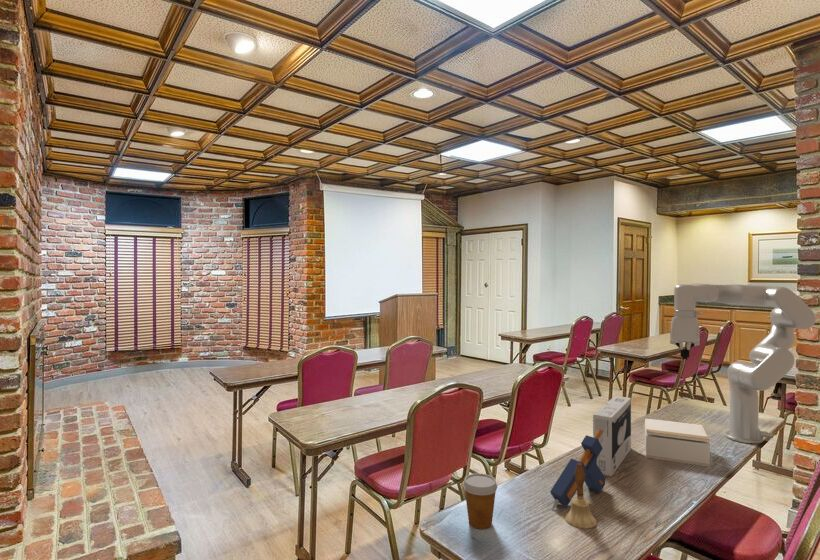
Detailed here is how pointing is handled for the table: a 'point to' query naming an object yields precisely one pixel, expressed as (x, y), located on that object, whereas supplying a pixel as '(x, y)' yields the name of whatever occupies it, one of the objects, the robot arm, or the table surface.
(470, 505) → the disposable coffee cup
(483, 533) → the table surface
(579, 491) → the hand bell
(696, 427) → the lid
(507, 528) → the table surface
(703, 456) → the box
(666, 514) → the table surface
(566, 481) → the glue gun
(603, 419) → the packaging
